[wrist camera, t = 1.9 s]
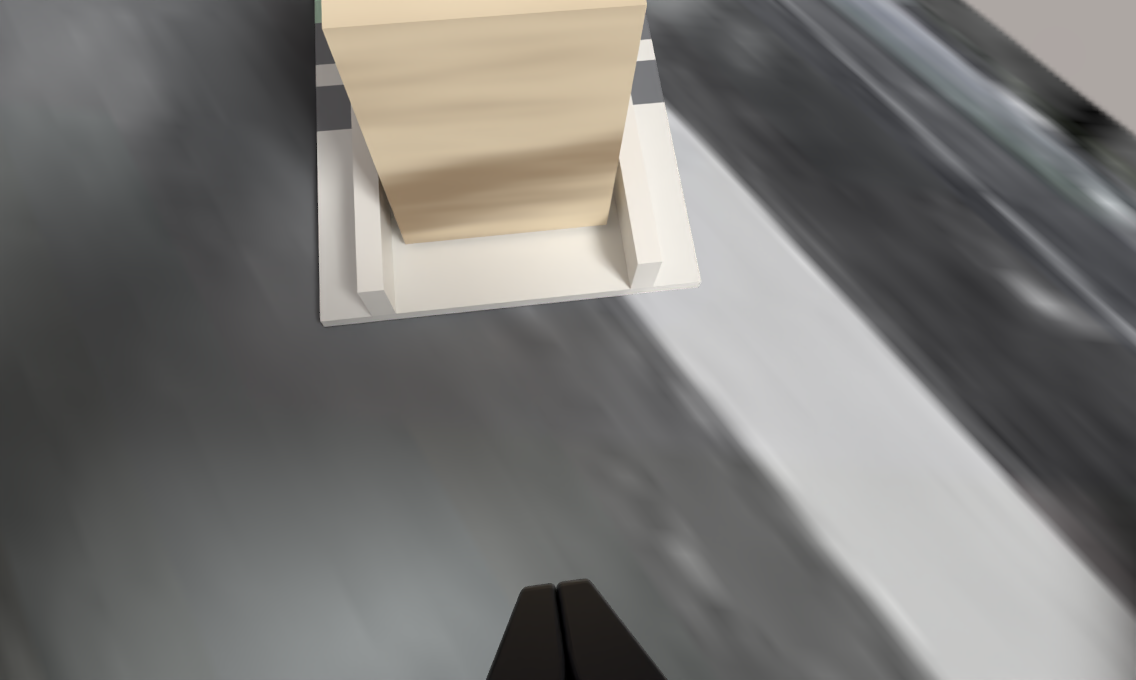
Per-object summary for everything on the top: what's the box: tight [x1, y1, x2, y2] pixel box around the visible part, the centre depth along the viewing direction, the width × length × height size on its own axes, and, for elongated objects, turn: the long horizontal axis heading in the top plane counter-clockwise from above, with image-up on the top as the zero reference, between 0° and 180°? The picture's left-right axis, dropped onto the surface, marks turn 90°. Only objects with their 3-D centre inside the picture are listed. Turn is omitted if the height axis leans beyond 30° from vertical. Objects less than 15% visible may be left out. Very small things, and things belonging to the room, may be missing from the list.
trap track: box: [315, 0, 701, 327], centre depth 27 cm, size 18×13×2 cm
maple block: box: [321, 0, 647, 244], centre depth 21 cm, size 5×7×10 cm
